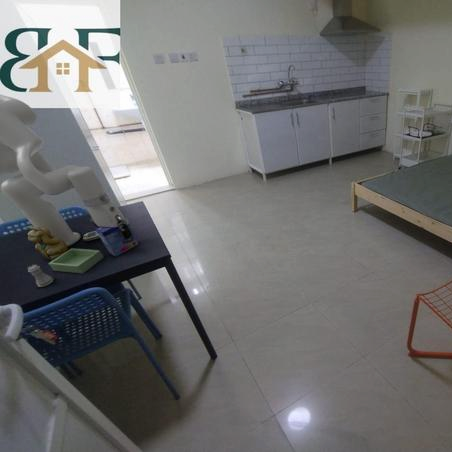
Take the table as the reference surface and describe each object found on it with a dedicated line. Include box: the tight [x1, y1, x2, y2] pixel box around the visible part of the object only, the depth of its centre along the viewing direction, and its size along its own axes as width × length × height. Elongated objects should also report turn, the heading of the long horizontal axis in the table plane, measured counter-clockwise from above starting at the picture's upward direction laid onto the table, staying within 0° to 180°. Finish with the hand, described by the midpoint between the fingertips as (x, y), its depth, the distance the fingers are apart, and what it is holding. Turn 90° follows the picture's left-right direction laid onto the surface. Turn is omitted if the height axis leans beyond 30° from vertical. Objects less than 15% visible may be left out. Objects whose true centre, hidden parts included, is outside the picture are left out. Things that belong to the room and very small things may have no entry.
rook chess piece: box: [27, 264, 54, 288], centre depth 100 cm, size 4×4×8 cm
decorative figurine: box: [25, 225, 69, 261], centre depth 113 cm, size 10×8×15 cm
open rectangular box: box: [48, 247, 105, 274], centre depth 110 cm, size 14×10×4 cm
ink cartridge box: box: [95, 222, 139, 257], centre depth 114 cm, size 10×6×14 cm, turn 152°
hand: (118, 236), depth 114 cm, fingers open, 9 cm apart
